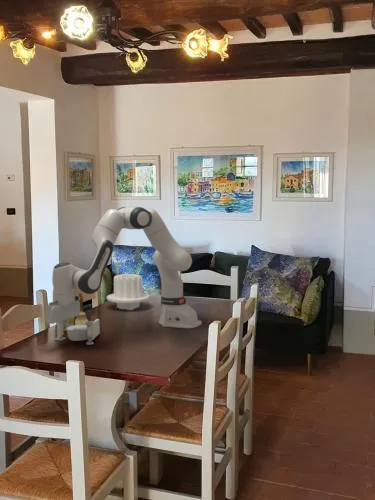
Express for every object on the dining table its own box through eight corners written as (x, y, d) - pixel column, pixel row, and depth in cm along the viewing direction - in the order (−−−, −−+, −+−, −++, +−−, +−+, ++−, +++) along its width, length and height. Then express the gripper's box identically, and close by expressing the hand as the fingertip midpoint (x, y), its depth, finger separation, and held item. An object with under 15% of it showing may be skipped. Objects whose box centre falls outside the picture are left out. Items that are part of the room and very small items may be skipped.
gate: (92, 342, 246) (91, 323, 245) (85, 342, 246) (84, 323, 245) (101, 333, 262) (101, 315, 260) (94, 333, 262) (94, 315, 261)
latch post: (68, 338, 256) (68, 322, 255) (62, 341, 252) (62, 324, 251) (59, 337, 258) (59, 320, 257) (53, 339, 254) (53, 322, 253)
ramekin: (62, 338, 257) (61, 327, 256) (82, 333, 265) (81, 323, 264) (75, 343, 249) (75, 332, 248) (95, 338, 257) (95, 327, 256)
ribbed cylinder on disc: (122, 301, 337) (121, 271, 335) (157, 305, 327) (157, 274, 324) (98, 309, 315) (97, 277, 313) (135, 314, 304) (135, 280, 302)
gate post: (95, 343, 249) (94, 324, 248) (90, 345, 246) (90, 326, 245) (89, 342, 250) (88, 324, 249) (84, 344, 247) (84, 325, 246)
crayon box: (75, 329, 272) (74, 306, 271) (73, 331, 269) (73, 308, 268) (60, 329, 273) (60, 306, 271) (59, 330, 270) (58, 307, 268)
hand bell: (86, 325, 280) (85, 295, 278) (70, 325, 281) (70, 294, 279) (92, 321, 288) (91, 292, 286) (77, 321, 289) (76, 291, 287)
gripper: (52, 303, 234) (53, 335, 236) (82, 295, 253) (82, 325, 254) (41, 302, 237) (42, 333, 239) (71, 294, 255) (71, 323, 257)
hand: (63, 329), depth 247 cm, fingers closed
